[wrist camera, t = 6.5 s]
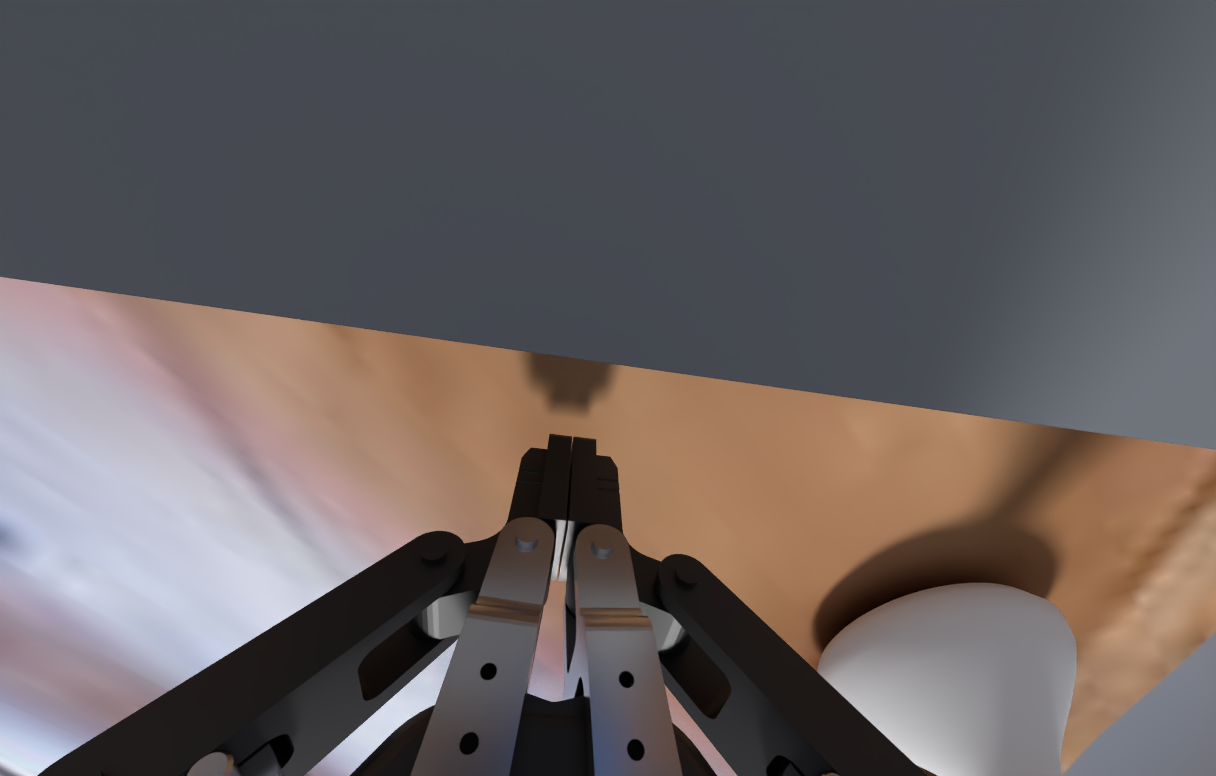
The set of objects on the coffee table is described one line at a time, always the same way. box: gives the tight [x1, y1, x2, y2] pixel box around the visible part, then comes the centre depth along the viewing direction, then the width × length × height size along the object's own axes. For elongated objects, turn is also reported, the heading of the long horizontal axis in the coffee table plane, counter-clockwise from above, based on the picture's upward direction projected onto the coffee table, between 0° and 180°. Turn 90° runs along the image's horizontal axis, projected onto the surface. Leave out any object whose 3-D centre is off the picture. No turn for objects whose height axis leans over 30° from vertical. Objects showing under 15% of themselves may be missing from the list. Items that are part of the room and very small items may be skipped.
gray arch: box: [0, 0, 1216, 450], centre depth 7 cm, size 3×15×10 cm, turn 80°
